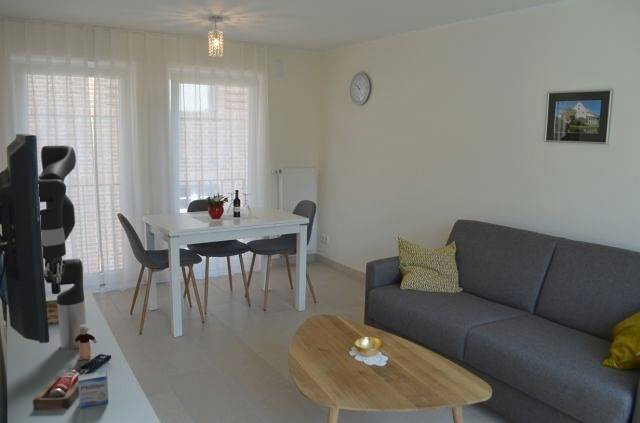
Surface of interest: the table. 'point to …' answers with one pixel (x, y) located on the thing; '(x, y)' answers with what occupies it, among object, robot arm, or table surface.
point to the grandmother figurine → (84, 342)
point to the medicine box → (93, 389)
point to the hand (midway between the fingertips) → (56, 293)
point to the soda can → (64, 384)
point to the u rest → (55, 403)
